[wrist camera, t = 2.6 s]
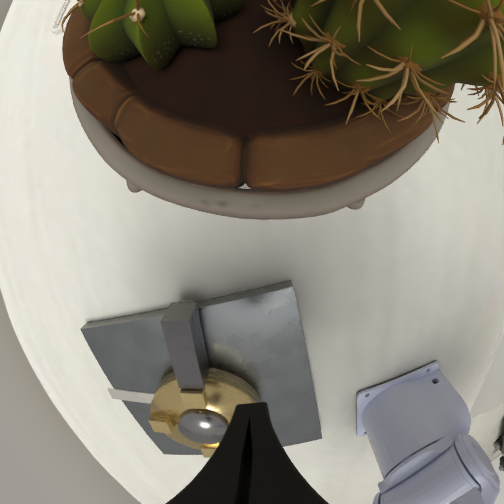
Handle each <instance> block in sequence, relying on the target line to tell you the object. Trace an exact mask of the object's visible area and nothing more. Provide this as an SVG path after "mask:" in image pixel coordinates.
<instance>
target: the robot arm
mask: <svg viewBox="0 0 504 504" xmlns="http://www.w3.org/2000/svg"><path fill="white" fill-rule="evenodd" d="M438 368H439V363H438V362H437V361H435V362H433V363H431V364H429V365H426V366H424V367H422V368H420V369H418V370H415V371H413V372H411V373H408V374H406V375H404V376H401V377H399V378H396V379H394V380H391V381H389V382H386V383H383V384H381V385H378V386H375V387H372V388H370V389H367V390H364V391H361V392H359V393H358V394H357V436H363V435H366V434H367V436H368V438H369V441H370V444H371V446H372V449H373V451H374V454H375V457H376V460H377V462H378V465H379V468H380V470H381V473H382V476H383V479H384V480H383V481H381V482H380V483H378V487H379V490H380V492H379V493H377V494H376V496H375V497H374V500H373V504H494V502H495V500H496V498H497V496H498V494H499V490H500V489H499V486H500V480H499V477H498V475H497V473H496V472H495V470H494V468H493V466H492V463H491V461H490V460H489V458H488V456H487V455H486V453H485V452H484V450H483V449H482V447H481V446H480V445H479V444H478V442H477V441H476V440H475V439H474V438H473V437H472V436H470V435H468V433H469V430H470V424H471V419H470V414H469V410H468V408H467V405H466V404H465V402H464V400H463V399H462V398H461V396H460V395H459V394H458V392H457V391H456V390H455V389H454V387H453V386H452V385H451V384H450V383H449V381H448V380H447V379H446V378H445V376H444V375H443V374H442V373H441V372H440V370H439V369H438ZM166 504H329V503H328V502H326V501H325V500H324V499H323V498H322V497H321V496H320V495H319V494H318V493H317V492H316V491H315V490H314V489H313V488H312V487H311V486H310V485H309V483H308V482H307V481H306V480H305V479H304V478H303V476H302V475H301V474H300V473H299V471H298V470H297V469H296V467H295V466H294V464H293V463H292V462H291V460H290V459H289V457H288V455H287V454H286V452H285V450H284V449H283V447H282V445H281V443H280V441H279V439H278V437H277V435H276V433H275V431H274V428H273V426H272V423H271V419H270V414H269V409H268V405H267V403H266V402H257V403H247V404H238V405H236V407H235V410H234V413H233V416H232V418H231V421H230V423H229V425H228V428H227V430H226V432H225V434H224V436H223V438H222V440H221V441H220V443H219V445H218V446H217V448H216V450H215V451H214V453H213V455H212V456H211V458H210V459H209V461H208V462H207V463H206V465H205V466H204V467H203V469H202V470H201V471H200V472H199V473H198V474H197V476H196V477H195V478H194V479H193V480H192V481H191V482H190V483H189V484H188V485H187V486H186V487H185V488H184V489H183V490H182V491H181V492H180V493H178V494H177V495H176V496H175V497H174V498H172V499H171V500H170V501H168V502H167V503H166Z"/></svg>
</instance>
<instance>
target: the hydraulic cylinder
mask: <svg viewBox="0 0 504 504" xmlns="http://www.w3.org/2000/svg"><path fill="white" fill-rule="evenodd" d="M494 447H495V449H499V450H500V451H501V453H502V455H503V456H502V457H501V458H500V466H499V469H500V471H502V470H503V471H504V437H503V438H502V439H500V438H499V439H498V440H497V441H496V442H495V445H494Z"/></svg>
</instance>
